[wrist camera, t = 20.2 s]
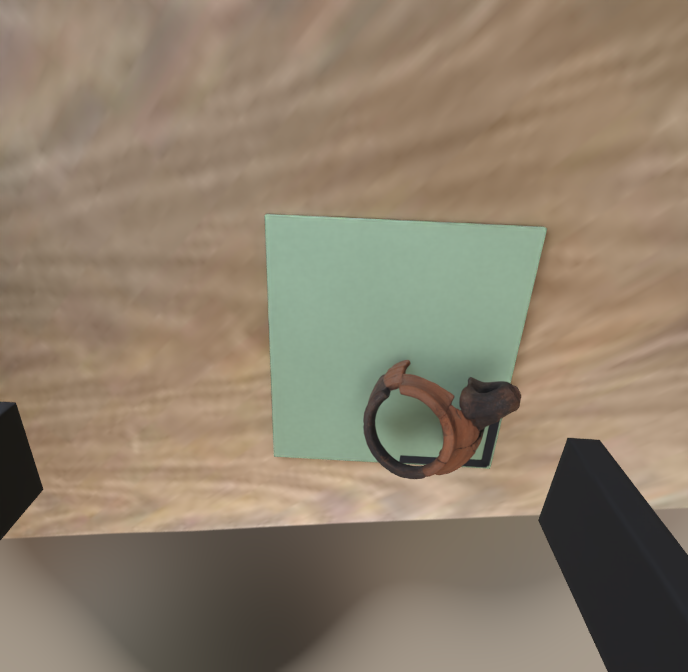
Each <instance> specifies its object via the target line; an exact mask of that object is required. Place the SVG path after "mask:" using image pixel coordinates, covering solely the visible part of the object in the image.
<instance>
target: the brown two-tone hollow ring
mask: <svg viewBox="0 0 688 672" xmlns="http://www.w3.org/2000/svg"><path fill="white" fill-rule="evenodd" d="M410 364H411V363H410V361H409V360H404V361H401V362H398V363H396V364H394V365H393V366H392V367H391V368H389V369H388V371H387V372H386V374H384V375H382V376H381V377H380V378H379V379H378V381H377V383H376V384H375V386H374V388H373V390H372V392H371V395H370V397H369V401H368V405H367V406H366V409H365V412H364V417H363V423H364V426H363V430H364V436H365V440H366V443H367V446H368V448H369V449H370V452H371V453H372V455H373V456H374V457H375V459H376V460H377V461H378V462H379V463H381V465H382V466H383V467H385V468H386V469H387V470H389V471H390V472H391V473H394V474H395V475H397V476H399V477H403V478H409V479H422V478H425V477H428V476H431V475H434V474H436V475H443V474H448V473H450V472H453V471H455V470H457V469H458V468H460V467H462V466H463V465H464V464H465V463H466V462H467V461H468V460H469V459H470V458H471V457H472V456H473V455H474V454H475V452H476V450H477V448H478V447H479V445H480V443H481V440H482V437H483V433H484V430H485V427H487V426H489V425H491V424H494V423H496V422H498V421H499V420H500V419H502V418H503V417H505V416H506V415H508V414H510V413H511V412H514V411H516V410H517V409H518V408H519V406H520V399H521V394H520V391H519V389H518V388H517V387H516V386H514V385H512V384H510V383H509V382H506V381H496V382H482V381H479V380H477V379H475V378H472V377H469V379H468V385H467V387H465V388H463V390H462V392H461V395H460V399H459V406H460V408H461V410H459V409H457V408H455V407H454V406H453V405H452V401H453V399H454V397H455V396H454V395H453V394H452V393H450V392H448V391H447V390H445V389H444V388H442V387H440V386H439V385H437V384H436V383H434V382H431V381H428V380H426V379H424V378H422V377H420V376H416V375H412V374H405V373H406V369H407V368H408V366H409V365H410ZM398 388H399V390H400V394H401V395H405V396H409V397H413V398H416V399H418V400H420V401H422V402H423V403H424V404H426V405H427V406H428V407H429V408H430V409H431V410H432V411H433V412H434V414H435V415H436V416H437V417H438V418H439V421H440V424H441V426H442V431H443V447H442V449H441V450H440V452H439V456H438V457H437V458H436V459H435V460H434V461H433V462H431V463H429V464H426V465H424V466H410V465H406V464H404V463H401V462H399V461H397V460H396V459H395V458H393V457H392V456H391V455H390V454H389V453H388V452H387V451H386V449H385V448H384V447H383V445H382V444H381V442H380V440H379V438H378V435H377V432H376V425H375V419H376V414H377V411H378V408H379V407H380V405H381V404H382V403H383V402H384V401H385V400H386V399H387V398H389V396H390V392H391V391H392V390H396V389H398Z"/></svg>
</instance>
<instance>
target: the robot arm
mask: <svg viewBox="0 0 688 672" xmlns="http://www.w3.org/2000/svg"><path fill="white" fill-rule="evenodd" d="M42 490H43V487H42V484H41V480H40V477H39V474H38V471H37V468H36V465H35V462H34V458H33V455H32V452H31V449H30V446H29V443H28V439H27V436H26V433H25V430H24V427H23V424H22V420H21V417H20V414H19V411H18V408H17V405H16V403H14V402H0V540H1V539H2V538H3V537H4V536H5V534H6V533H7V532H8V531H9V530H10V528H11V527H12V526H13V525H14V524H15V523H16V521H17V520H18V519H19V518H20V517H21V515H22V514H23V513H24V512H25V511H26V509H27V508H28V507H29V506H30V505H31V504H32V502H33V501H34V500H35V499H36V498H37V496H38V495H39V494H40V493H41V492H42ZM539 523H540V525H541V527H542V530H543V532H544V534H545V536H546V538H547V540H548V543H549V545H550V547H551V549H552V551H553V553H554V556H555V558H556V560H557V562H558V564H559V567H560V568H561V571H562V573H563V575H564V577H565V580H566V582H567V584H568V586H569V588H570V591H571V593H572V595H573V597H574V599H575V601H576V603H577V606H578V608H579V610H580V612H581V614H582V617H583V619H584V621H585V623H586V625H587V628H588V630H589V632H590V634H591V636H592V638H593V641H594V643H595V645H596V647H597V649H598V651H599V654H600V656H601V658H602V660H603V662H604V665H605V667H606V669H607V671H608V672H688V555H687V553H686V552H685V551H684V550H683V548H682V547H681V546H680V544H679V543H678V542H677V540H676V539H675V538H674V536H673V535H672V534H671V533H670V531H669V530H668V529H667V527H666V526H665V525H664V523H663V522H662V521H661V520H660V518H659V517H658V516H657V514H656V513H655V512H654V510H653V509H652V508H651V506H650V505H649V504H648V503H647V501H646V500H645V499H644V497H643V496H642V495H641V493H640V492H639V491H638V489H637V488H636V487H635V486H634V484H633V483H632V482H631V480H630V479H629V478H628V476H627V475H626V474H625V472H624V471H623V470H622V469H621V467H620V466H619V465H618V463H617V462H616V461H615V459H614V458H613V457H612V456H611V454H610V453H609V452H608V450H607V449H606V448H605V446H604V445H603V444H602V442H601V441H600V440H593V439H577V438H567V441H566V444H565V447H564V450H563V452H562V455H561V458H560V461H559V464H558V466H557V469H556V472H555V475H554V478H553V480H552V483H551V486H550V489H549V492H548V494H547V497H546V500H545V503H544V506H543V509H542V511H541V514H540V517H539Z"/></svg>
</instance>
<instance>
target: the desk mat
mask: <svg viewBox="0 0 688 672" xmlns="http://www.w3.org/2000/svg"><path fill="white" fill-rule="evenodd" d="M546 231H547V228H545V227H537V226H515V225H494V224H472V223H451V222H429V221H408V220H386V219H365V218H343V217H322V216H300V215H279V214H266V215H265V235H266V261H267V287H268V313H269V339H270V365H271V391H272V417H273V443H274V457H291V458H309V459H327V460H345V461H363V462H378V461H377V460H376V459H375V457H374V456H373V455H372V453H371V452H370V449H369V448H368V446H367V443H366V440H365V436H364V430H363V426H364V423H363V417H364V412H365V409H366V406H367V405H368V401H369V397H370V395H371V392H372V390H373V388H374V386H375V384H376V383H377V381H378V379H379V378H380V377H381V376H382V375H384V374H386V372H387V371H388V369H389V368H391V367H392V366H393V365H394V364H396V363H398V362H401V361H404V360H409V361H410V363H411V364H410V365H409V366H408V368H407V369H406V373H405V374H412V375H416V376H420V377H422V378H424V379H426V380H428V381H431V382H434V383H436V384H437V385H439V386H440V387H442V388H444V389H445V390H447V391H448V392H450V393H452V394H453V395H454V396H455V397H454V399H453V401H452V405H453V406H454V407H455V408H457V409H459V410H461V408H460V406H459V399H460V395H461V392H462V390H463V388H465V387H467V385H468V379H469V377H472V378H475V379H477V380H479V381H482V382H496V381H506V382H509V383H511V379H512V374H513V370H514V366H515V362H516V357H517V353H518V349H519V345H520V340H521V336H522V332H523V328H524V324H525V319H526V315H527V311H528V307H529V302H530V298H531V294H532V290H533V286H534V281H535V277H536V273H537V269H538V264H539V260H540V256H541V252H542V248H543V243H544V239H545V235H546ZM501 421H502V419H500V420H499V421H498V422H496V423H494V424H491V425H489V426H487V427H485V430H484V433H483V437H482V440H481V443H480V445H479V447H478V448H477V450H476V452H475V454H474V455H473V456H472V457H471V458H470V459H469V460H468V461H467V462H466V463H465V464H464V465H463V466H462V467H471V468H489V469H490V467H491V463H492V459H493V455H494V450H495V446H496V442H497V438H498V433H499V429H500V425H501ZM375 425H376V432H377V435H378V438H379V440H380V442H381V444H382V445H383V447H384V448H385V449H386V451H387V452H388V453H389V454H390V455H391V456H392V457H393V458H395V459H396V460H397V461H399V462H401V463H404V464H417V465H426V464H429V463H431V462H433V461H434V460H435V459H436V458H437V457H438V456H439V452H440V450H441V449H442V447H443V431H442V426H441V424H440V421H439V418H438V417H437V416H436V415H435V414H434V412H433V411H432V410H431V409H430V408H429V407H428V406H427V405H426V404H424V403H423V402H422V401H420V400H418V399H416V398H413V397H409V396H405V395H401V394H400V390H399V388H398V389H396V390H392V391H391V392H390V396H389V398H387V399H386V400H385V401H384V402H383V403H382V404H381V405H380V407H379V408H378V411H377V414H376V419H375Z"/></svg>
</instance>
